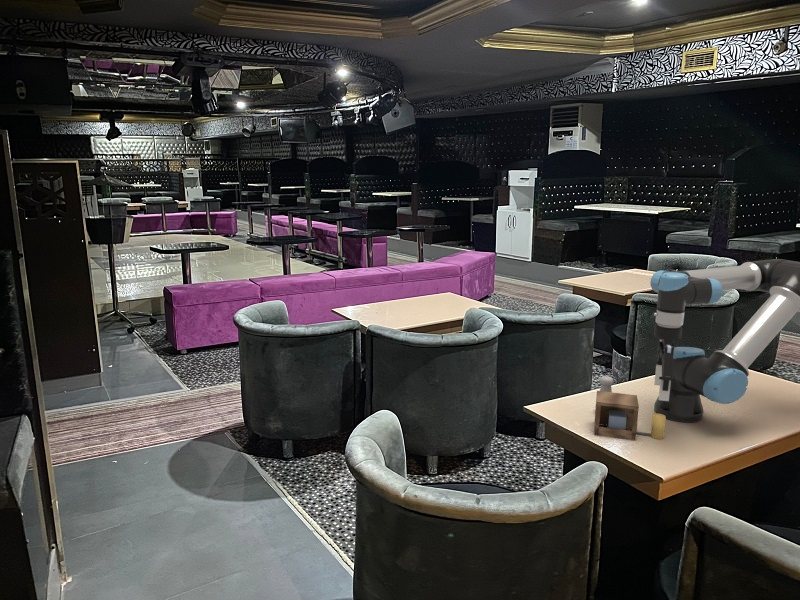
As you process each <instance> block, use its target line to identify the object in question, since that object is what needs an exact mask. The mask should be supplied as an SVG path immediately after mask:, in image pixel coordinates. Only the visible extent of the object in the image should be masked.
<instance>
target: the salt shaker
mask: <svg viewBox="0 0 800 600" xmlns="http://www.w3.org/2000/svg"><path fill="white" fill-rule="evenodd" d="M599 384H601V385H600V389H599V391H604V392H613V390H612V389H613V388H612V385H614V378H613V377H611V376H608V375H602V376H601V377H599ZM594 408H596V405H595V406H594Z"/></svg>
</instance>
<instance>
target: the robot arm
mask: <svg viewBox="0 0 800 600" xmlns="http://www.w3.org/2000/svg"><path fill="white" fill-rule="evenodd" d="M649 283H650V287H651V289H652V291H654V292H655V293H657V300H656V301H657V302H656V312H654V313H653V316H654V317H655V323H656V324H654V328H653V329H654V332H653V336H654V337H655V338H657V339H659V341H658V346H657V352H656V357H655V360H656V365H655V375H654V386H659V391H658V396H657V399H655V401H654V408H653V411H654V414H655V413H659V414H663V415H665V416H666V419H665V420H669V421H675V422H678V423H679V422H681V423H697V422H699V421H700V422H701V421H702V420H703V418H704V408H703V403H702V399H701V396H702V397H704V398H706V399H707V400H710V401H711V402H714V403H718V404H721V405H727V404H733V403H735V402H737V401H739V400H740V399H741V398H742V397H743V396H744V395H745V394H746V392H747V390H748V388H747V387H748V385H749V379H748V377H749V375H750V372H749V367H750V366H751V365H752V364H753V363H754V361H756V359H757V358H758V357H759V356H760V355H761V354H762V353H763V351H764V350H765V349H766V348H767V346H768V345H770V343H771V342H772V341H773V339H775V337H777V335H778V334H779V333H780V332H781V330H782V329H784V327H785V326H786V325H787V324H788V322H790V321H791V319H792V318H793V317H794V316H795V315H796V314H797V313H800V261H794V260H788V259H782V258H777V259H776V258H773V259H764V260H754V261H746V262H743V263H742V264H741V265H735V266H733V265H732V266H726V267H725V266H723V267H712V268H703V269H700V268H699V269H693V270H692V269H691V270H690V269H689V270H678V271H669V270H663V269H662V270H657V271H656V272H654V273H653V274H652V275H651V278H650V282H649ZM740 289H742V290H744V291H748V292H751V291H752V292H753V291H758V292H764V293H769V297H768V298H767V300H766V301H764V303H763V304H762V305H760V307H759V308H758V309H757V311H756V312H755V313H754V314H753V315H752V316H751V317H750V319H749V320H748V321H747V322H746V323H745V324H744V325H743V327H742V328H741V329H740V330H739V331H738V333H736V334H735V336H734V337H733V338H732V339H731V340H730V341H729V343H727V345H725V347H724V348H723V349H722V350H721V349H720V350H719V349H718V350H714V352H713V353H712V354H711V355H710V356H709V357H708V358H707V357H705V356H706V354H705V353H706V352H705V350H704V349H702V348H698V347H694V346H693V347H692V346H691V347H690V346H676V347H675V345H674V343H673V342H674V341H679V340H681V339H682V334H683V327H682V326H683V325H684V319H685V310H686V309H685V308H686V305H687V306H688V305H708V304H715V303H717V302H719V301H720V300H721V298H722V296H723V291H730V290H731V291H732V290H740Z"/></svg>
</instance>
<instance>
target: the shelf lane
mask: <svg viewBox="0 0 800 600" xmlns="http://www.w3.org/2000/svg"><path fill="white" fill-rule="evenodd" d="M595 399H596V401H595V406H596V407H595V410H594V412H595V413H594V421H593V422H594V427H593V428H594V432H593V433H594V436H597V437H598V436H599V437H605V438H613V439H620V440H627V441H628V440H629V441H636V440H637V435H636V432H638V431H637V430H638V429H637V428H638V420H639V409H640V407H639V406H640V405H639V401H638V395H637V394H629V393H620V392H613V391H612V392H604V391H600V390H597V391H596V397H595ZM609 410H615V411H624V412H626V428H625V430H622V429H614V428H608V416H609ZM604 426H605V427H604ZM606 426H607V427H606ZM628 429H629V430H628Z"/></svg>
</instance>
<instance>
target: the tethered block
mask: <svg viewBox="0 0 800 600" xmlns="http://www.w3.org/2000/svg"><path fill="white" fill-rule="evenodd" d="M666 420H667V419H666V416H665V415H663V414H659V413H655V412H654V413H652V422H651V432H642V431H636V436H642V437H643V436H644V437H649V438H652V439H655V440H663V439H664V437H665V426H666ZM607 428H614V429H622V430H626V429H627V428H626V412H624V411H615V410H609V416H608V426H607Z"/></svg>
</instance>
